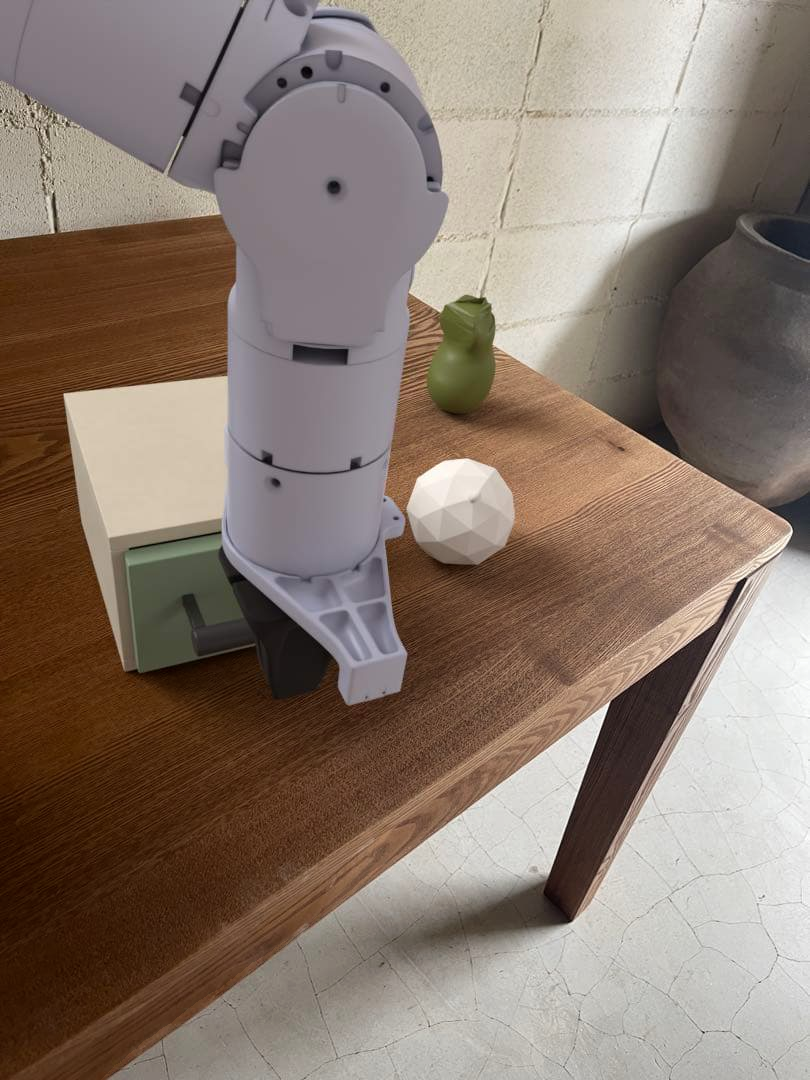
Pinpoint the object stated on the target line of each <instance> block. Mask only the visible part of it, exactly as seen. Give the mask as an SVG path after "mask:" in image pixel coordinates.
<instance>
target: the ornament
mask: <svg viewBox="0 0 810 1080" xmlns="http://www.w3.org/2000/svg"><path fill="white" fill-rule="evenodd" d="M406 514H407V517H408V521H409V524H410V528H411V531H412V534H413V537H414V540H415V542H416V543H417V544H418V546H419V547H420V548H421V550H423V551H424V553H425V554H426V555H427V556H429V557H431V558H433V559H435V560H436V561H438V562H441V563H443V564H449V565H450V564H452V565H473V566H475V565H476V566H477V565H480V564H482V563H483V562H484V561H485V560H487V559H489V558H490V557H491V556H493V555H494V554H496V553H498V552H499V551H500V550H502V549H504V548H505V547H506V544H507V542H508V539H509V537H510V535H511V532H512V530H513V527H514V524H515V517H516V511H515V503H514V496H513V492H512V491H511V489H510V487H509V486H508V485H507V482H506V481H505V480H504V478H503V476H501V474H500V472H499V471H498V469H496V467H493V466H491V465H487V464H484V463H482V462H479V461H476V460H473V459H471V458H468V457H467V458H457V459H449V460H443V461H442V462H440V463H438V464H436V465H434V466H433V467H432V468H430V469H429V470H427V471H426V472H425V473H423V474H421V475H420V476H418V477H417V478H416V480H415V483H414V487H413V490H412V492H411V495H410V498H409V501H408V503H407V507H406Z"/></svg>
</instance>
